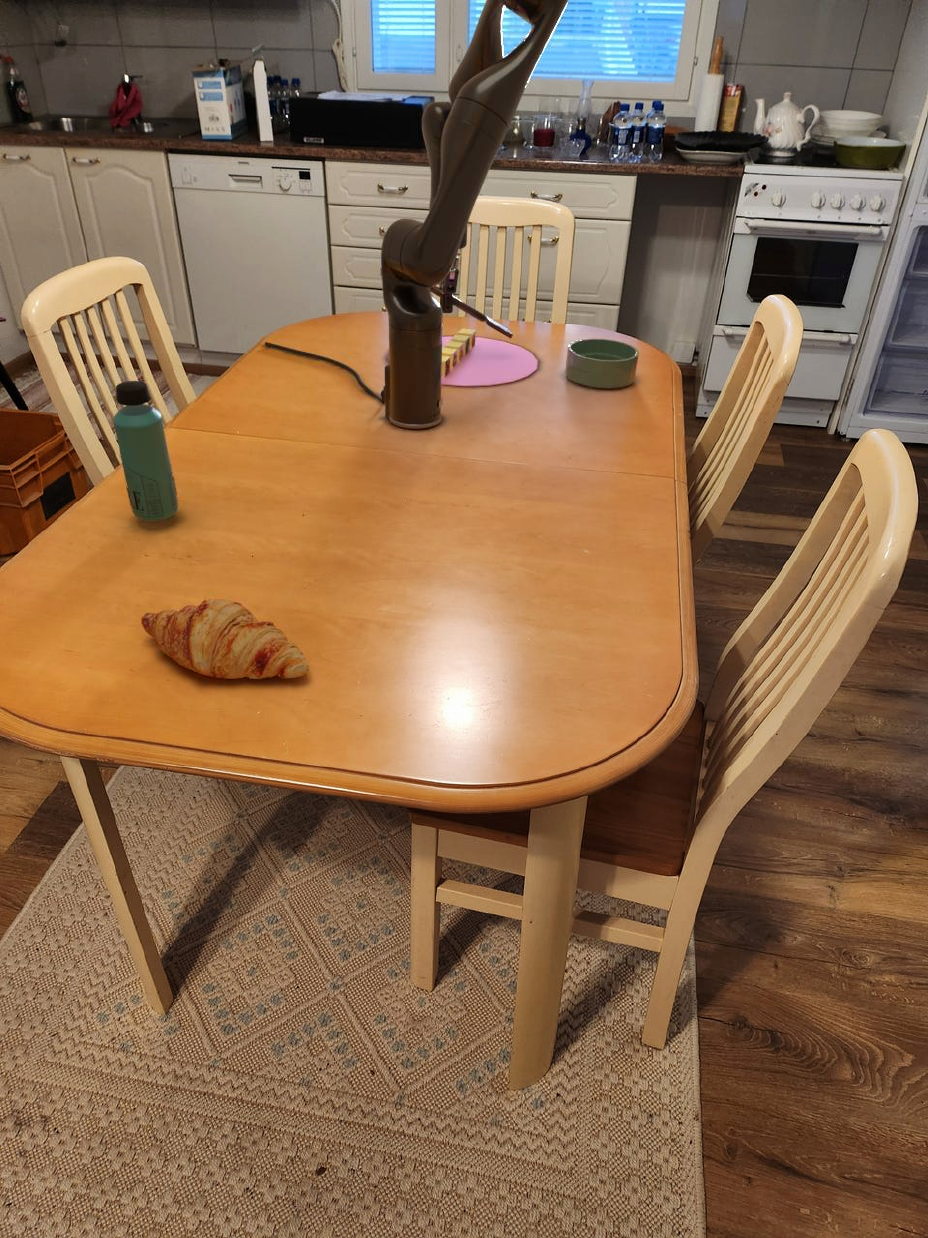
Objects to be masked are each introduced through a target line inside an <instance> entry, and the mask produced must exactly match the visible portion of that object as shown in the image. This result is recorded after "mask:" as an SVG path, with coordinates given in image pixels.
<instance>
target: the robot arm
mask: <svg viewBox="0 0 928 1238" xmlns="http://www.w3.org/2000/svg"><path fill="white" fill-rule="evenodd" d="M569 1H570V0H485V2H484V6H483V7H482V10H481V13H480V16H479V18H478V21H477V24H476V26H475V29H474V32H473V34H472V38H471V40H470V43H469V45H468V47H467V50H466V52H465V53H464V55H463V57H462V60H461V61H460V62H459V65H458V67H457V68H456V71H455V72H454V74H453V76H452V78H451V80H450V82H449V85H448V92H447V93H448V98H449V101H432V102H430V103H428V104H427V105H426V107H425V108H424V111H423V112H422V116H421V131H422V136H423V140H424V144H425V148H426V154H427V158H428V163H429V167H430V168H429V169H430V197H429V206H428V208H429V209H428V214H427V216H426V217H425V220H424V221H420V220H416V219H412V218H400V219H397V220H395V221H394V222H392V223H391V224H390V225H389V227H388V228H387V229H386V231H385V232H384V236H383V239H382V241H381V242H382V243H381V251H380V269H381V285H382V299H383V304H384V307H385V310H386V312H387V316H388V317H387V319H388V357H389V358H388V364H387V365H385V366H384V386H383V389H382V390H381V391H380V396H378V395H377V394H376V393H374V391H372V390H371V389H370V388H369V387H368V386H367V385H366V384H365V383H364V382H363V381H362V379H361V377H360V374H359V373H358V372H357V371H356V370H355V369H353V368H352V367H350V366H349V365H346V364H345V363H343V362H340V361H338V360H335V359H333V358H329V357H327V356H324V355H320V354H316V353H312V352H308V351H307V352H306V351H302V350H299V349H294V348H290V347H286V346H283V345H279V344H275V343H271V342H268V341H265V342H264V346H266V347H270V348H273V349H277V350H281V351H285V352H289V353H292V354H296V355H300V356H305V357H309V358H312V359H313V358H314V359H317V360H321V361H324V362H327V363H330V364H334V365H336V366H338V367H340V368H343V369H345V370H346V371H348V372H349V373H351V374H352V375H353V376H354V377H355V379H356V381H357V383H358V385H360V387H361V388H362V389H363V390H364V391H365V392H366V393H367V394H368V395H370V396H371V397H373V398H375V399H377V400H378V401H380V402H381V403H384V411H385V412H384V418H385V419H388V420H389V422H390V423H391V424H392V425H394V426H396V427H400V428H403V429H409V430H424V429H430V428H432V427H435V426H437V425H440V423H441V422H442V405H443V402H444V398H443V396H442V385H441V379H442V337H443V329H444V328H443V325H444V323H443V322H444V314H452V313H453V312H454V305H453V296H454V295H455V294H456V293H457V289H458V288H457V287H458V282H459V281H458V280H459V274H460V270H459V264H460V263H459V262H460V260H459V257H457V255H458V253H459V250H461V249H465V248H466V247H467V244H468V223H469V221H470V218H471V215H472V211H473V209H474V207H475V205H476V202H477V200H478V198H479V196H480V193H481V191H482V188H483V186H484V183H485V180H486V179H487V176H488V174H489V171H490V170H491V167H492V165H493V162H494V160H495V158H496V157H497V155H498V153H499V150H500V149H501V146H502V144H503V142H504V140H505V137H506V135H507V134H508V130H509V128H510V126H511V123H512V121H513V119H514V117H515V115H516V111H517V109H518V106H519V104H520V102H521V100H522V97H523V95H524V92H525V90H526V88H527V86H528V84H529V81H530V79H531V76H532V75H533V73H534V70H535V68H536V66H537V64H538V62H539V60H540V59H541V56H542V55H543V53H544V51H545V48H546V47H547V44H548V43H549V41H550V39H551V37H552V35H553V33H554V32H555V29H556V27H557V25H558V24H559V22H560V19H561V17H562V15H563V13H564V11H565V9H566V7H567V5H568V3H569ZM505 8H506V9H507V10H509V11H510V12H512V13H514V14H515V15H517V16H518V17H519V18H520V19H522V20H524V21H525V22H526V23H528V24H529V25H530V30H529V31H528V34H527V35H526V37H525V38H524V39H523V40H521V42H520V43H519V44H517V46H516V47H514V48H513V49H512V50H511V51H509V52H508V53H507V54H506V55H505V56H504V45H503V32H502V30H503V29H502V27H503V26H502V21H503V15H504V11H505ZM434 286H438V287H439V288H440V289H442V290H441V293H442V298H440V297H439V302H438V301H437V299H436V298H435V297H434V295H433V293H432V292H431V291H430V288H429V287H434Z"/></svg>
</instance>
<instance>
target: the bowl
mask: <svg viewBox="0 0 928 1238" xmlns="http://www.w3.org/2000/svg"><path fill="white" fill-rule="evenodd" d="M566 352H567V353H566V360H565V361H566V362H565V372H564V373H565V376H566V378H568V379H569V380H570V381H572V382H575V383H577V384H579V385H581V386H585V387H588V388H589V387H590V388H593V389H616V388H622V387H626V386H629V385H631V384H633V383H634V382H635V380H636V376H637V375H636V374H637V370H638V362H639V356H640V352H639V350H638V348H636V347H635V346H633V345H632V344H629V343H626V342H623V341H619V340H614V339H607V338H583V339H578V340H574V341H573V342H571V343H569V344H568V346H567V351H566Z"/></svg>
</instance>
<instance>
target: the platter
mask: <svg viewBox="0 0 928 1238" xmlns="http://www.w3.org/2000/svg"><path fill="white" fill-rule="evenodd" d="M387 358H388V359H389V356H388V357H387ZM538 363H539V361H538V359H537V358H536V356H535V355H534V354H533V353H532V352H530V351H528V350H527V349H525V348H523V347H521V346H518V345H515V344H513V343H509V342H507V341H503V340H497V339H493V338H492V339H491V338H487V337H479V336H477V330H476V329H470V328H461V329H460V330H459V331H458V332H457V334H454V336H452V335H451V336H450V335H449V336H442V379H441V386H453V387H487V386H488V387H491V386H498V385H504V384H510V383H514V382H517V381H520V380H523V379H525V378H527V377H529V376H531V375H532V374H533V373H534V372H535V371H537V369H538Z"/></svg>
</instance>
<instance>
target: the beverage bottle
mask: <svg viewBox="0 0 928 1238" xmlns="http://www.w3.org/2000/svg"><path fill="white" fill-rule="evenodd" d="M115 394H116V403H117V404H119V405H121V406H123V407H120V409H119V410H118V411H117V412H116V413H115V414H114V416H113V418H112V424H113V425H114V426H113V427H114V431H115V435H116V439H117V445H118V449H119V451H117V452H118V454H119V455H118V456H119V458H120V460H121V464H122V469H123V475H124V478H123V479H124V482H125V484H126V486H125V488H126V492H127V498H128V503H129V505H130V510H131V512H132V513H133V515H134V516H135V517H136V519H139V520H141V521H144V522H158V521H163V520H167V519H169V518H172V517H174V515H176V514H177V512H178V510H179V506H180V504H179V498H178V491H177V486H176V481H175V477H174V476H175V474H174V472H173V466H172V462H171V457H170V454H169V450H168V444H167V438H166V433H165V429H164V427H165V426H164V422H163V414H162V413H161V412H160V411H159V410H157V409H156V408H155V407H153V406H152V405H150V404H147V403H148V402H150V401H151V395H150V393H149V389H148V385H147V383H146V382H144V381H140V380H127V381H123V382H119V383H118V384H117V385H116V386H115Z"/></svg>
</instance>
